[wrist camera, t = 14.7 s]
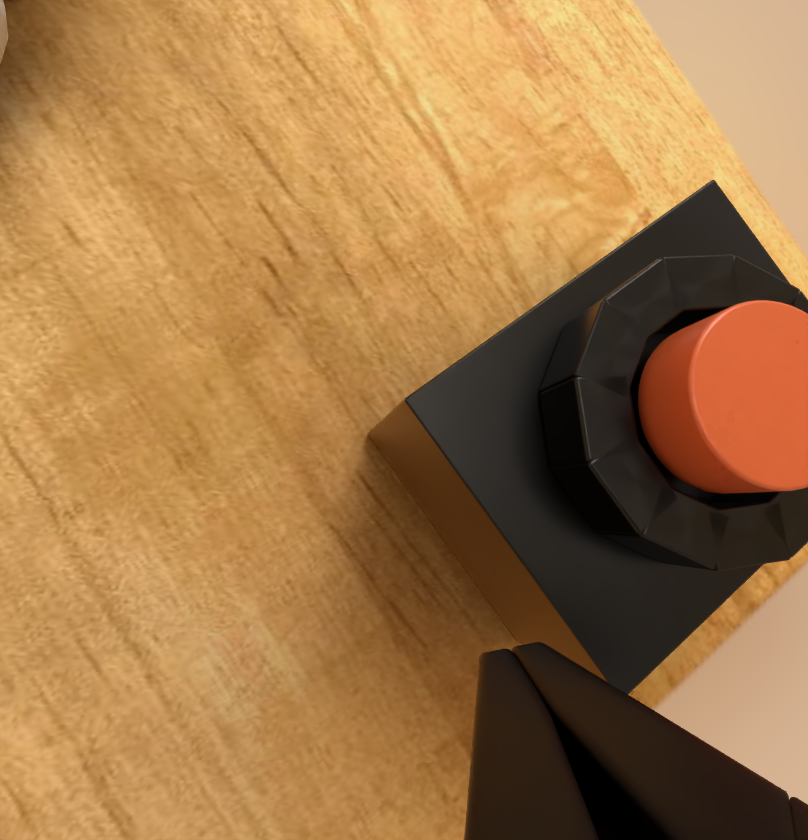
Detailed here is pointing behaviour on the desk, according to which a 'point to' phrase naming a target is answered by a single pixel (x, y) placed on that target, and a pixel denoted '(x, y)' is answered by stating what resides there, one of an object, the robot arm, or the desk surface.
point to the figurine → (3, 29)
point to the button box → (596, 454)
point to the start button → (732, 400)
